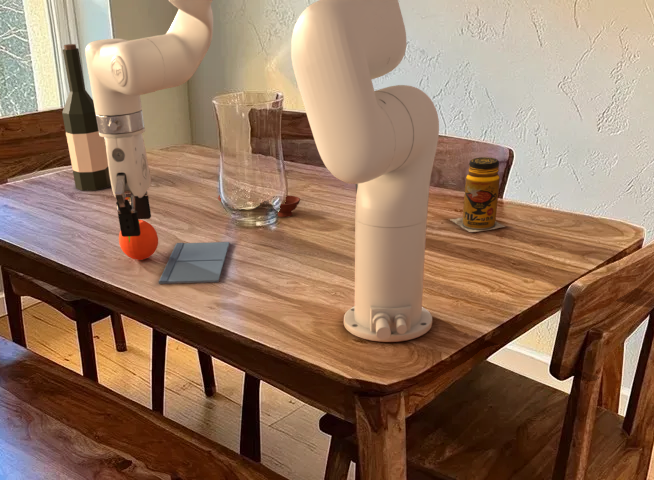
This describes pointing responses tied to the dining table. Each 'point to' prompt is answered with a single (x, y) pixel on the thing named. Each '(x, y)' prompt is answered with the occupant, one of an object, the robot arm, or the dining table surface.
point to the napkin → (195, 263)
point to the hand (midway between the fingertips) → (137, 226)
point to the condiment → (481, 196)
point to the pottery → (285, 206)
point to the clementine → (140, 242)
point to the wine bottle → (83, 129)
